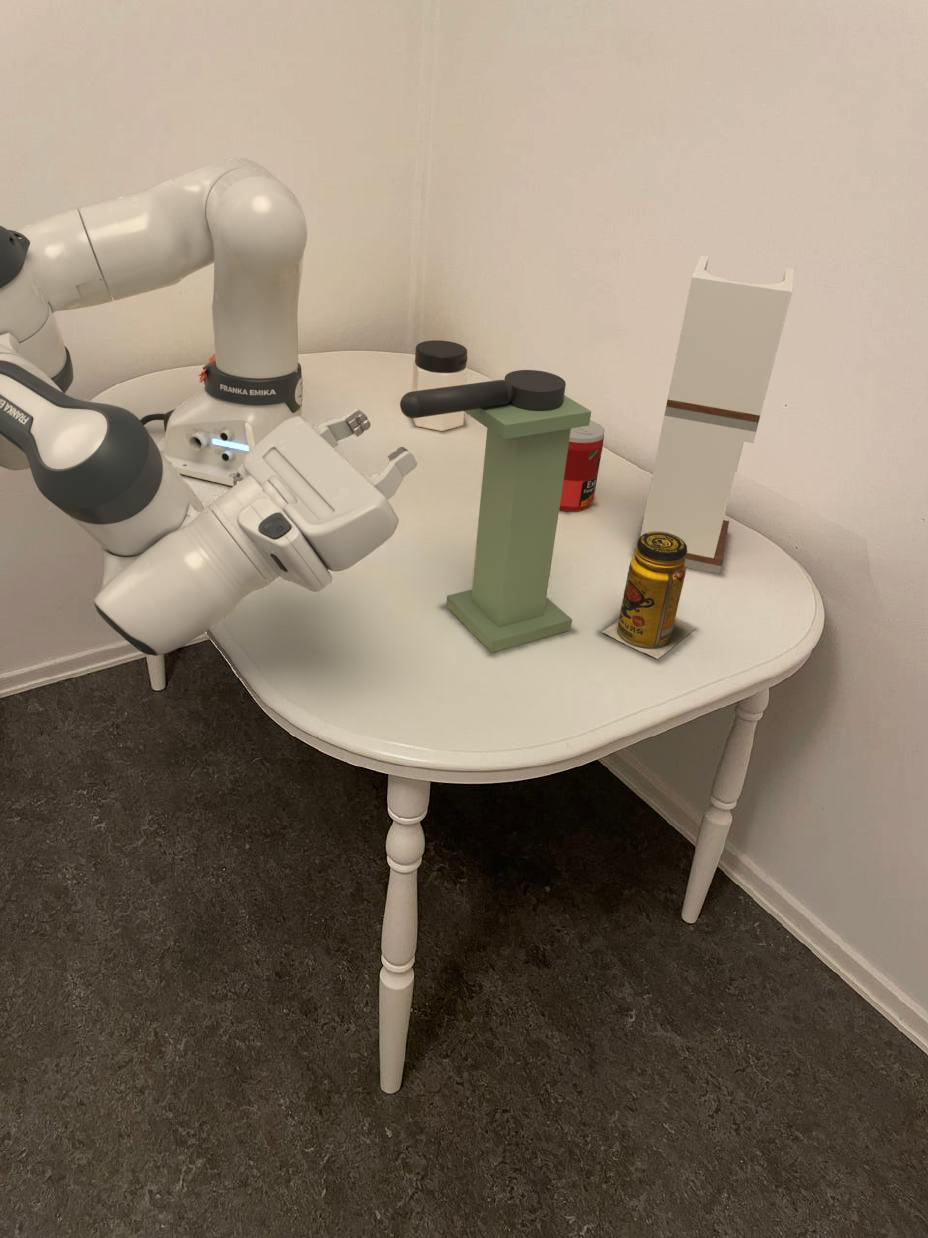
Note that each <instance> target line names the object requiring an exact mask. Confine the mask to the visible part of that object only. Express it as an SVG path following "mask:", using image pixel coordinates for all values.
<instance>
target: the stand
mask: <svg viewBox="0 0 928 1238" xmlns="http://www.w3.org/2000/svg"><path fill="white" fill-rule="evenodd" d="M464 413H465V414H467V415H468V416H470V417H471V418H473V419H474V420H475V421H476V422H478V423H479V424H481V425H482V426H484V427H485V428H486V438H485V448H484V460H483V470H482V471H483V472H482V478H481V479H482V480H481V481H482V482H481V489H480V491H481V492H480V500H479V501H480V502H479V512H478V523H477V534H476V543H475V554H474V564H473V576H472V586H471V589H468V590H464V591H460V592H456V593H452V594H448V595H447V596H446V601H445V602H446V604H445V607H446V608H447V609H448V610H449V611H450V613H452V614H453V615H454V616H455V617H456V618H457V619H458V620H459V621H460V622H461V623H462V624H463V625H464V627H466V629H467V630H469V631H470V633H471V634H472V635H473V636H474V637H475V638H476V639H477V640H478V641H479V642H480V643H481V644H482V645H483V646H484V648H486V649H487V650H488V651H489V652H490V653H491V654H492V653H496V652H499V651H503V650H507V649H510V648H513V647H518V646H520V645H521V646H522V645H524V644H527V643H531V642H534V641H539V640H542V639H545V638H549V637H552V636H556V635H559V634H563V633H566V632H567V633H568V632H570V631H571V630H572V629H571V628H572V622H573V619H572V617H570V616H568V615H567V613H566V612H564V611H563V610H562V609H561V608H560V607H559V606H557V605H556V604H555V603H554V602H553V601H552V600H551V599H549V598H548V597H547V595H548V589H549V583H550V575H551V568H552V561H553V555H554V549H555V540H556V533H557V527H558V520H559V515H560V510H559V507H560V500H561V494H562V487H563V480H564V473H565V466H566V459H567V452H568V446H569V439H570V432H571V428H577V427H583V426H589V424H590V420H591V416H592V410H590V409H589V408H587V407H585V406H584V405H582V404H580V403H578V402H577V401H575V400H574V399H572V398H570V397H569V396H567V395H565V394H564V401H563V405H562V406H561V407H559V408H557V409H554V410H549V411H531V410H525V409H520V408H517V407H514V406H512V405H510V404H506V405H502V406H495V407H488V408H481V409H475V410H468V411H464Z"/></svg>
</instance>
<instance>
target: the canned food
mask: <svg viewBox="0 0 928 1238" xmlns="http://www.w3.org/2000/svg"><path fill="white" fill-rule="evenodd" d="M605 432H606V431H605V428H604V427H603V426H602V425H601V424H600V423H598V422H597V421H595V420H591V419H590V424H589V426H583V427H577V428H571V432H570V439H569V446H568V452H567V459H566V466H565V473H564V480H563V487H562V494H561V500H560V507H559V511H561V512H569V513H571V512H573V513H574V512H581V511H584V510H587V509H589V508H590V507H591V505H592V503H593V501H594V499H595V494H596V487H597V482H598V476H599V471H600V463H601V459H602V453H603V449H604V448H603V446H604V439H605Z"/></svg>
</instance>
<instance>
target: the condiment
mask: <svg viewBox="0 0 928 1238" xmlns="http://www.w3.org/2000/svg"><path fill="white" fill-rule="evenodd" d="M686 553H687V545H686V544H685V542H684V541H683V540H682V539H681V538H679V537H677V536H676V535H673V534H669V533H666V532H656V531H655V532H648V533H645V534H643V535H642V536H640V535H639V539H638V540H637V545H636V548H635V550H634V556H632V558H631V559H630V562H629V565H628V571H627V576H626V581H625V586H624V587H625V588H624V590H623V598H622V602H621V607H620V611H619V616H618V617H619V618H618V620H617V621H615V622H614V623H612V624H611V625H610V626H608V627H607V628H606V629H604V630H602V631H601V632H602V633H603V634H605V635H606V636H608V637H610V638H613V639H614V640H616V641H618V642H619V643H622V644H624V645H626V646H628V647H630V648H632V649H635V650H637V651H638V652H641V653H643V654H646V655H648V656H650V657H653V658H654V659H656V660H659V659H660V658H661V657H663V656H664V655H665V654H666V653H668V651H670V650H672V649H673V648H674V647H675V646H676V645H678V643H679V642H680V641H682V640H683V639H684V638H685V637H687V636H688V635H689V634H690V633H691V632H692V631H694V630H695V629H696V627H694V626H691V625H687V624H686V623H682V622H681V621H679V620H676V618H677V617H676V616H677V613H678V608H679V605H680V604H679V603H680V599H681V595H682V590H683V587H684V582H685V578H686V574H687V573H686V572H687V569H686V568H687V567H685V565H684V563H685V561H686V559H685V555H686Z"/></svg>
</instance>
